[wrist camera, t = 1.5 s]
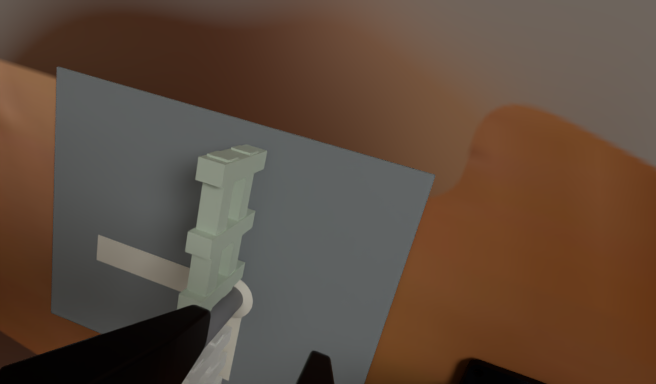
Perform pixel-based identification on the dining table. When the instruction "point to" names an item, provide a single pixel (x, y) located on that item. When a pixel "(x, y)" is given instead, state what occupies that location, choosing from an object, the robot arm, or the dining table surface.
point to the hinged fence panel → (220, 223)
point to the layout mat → (256, 244)
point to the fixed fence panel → (215, 342)
